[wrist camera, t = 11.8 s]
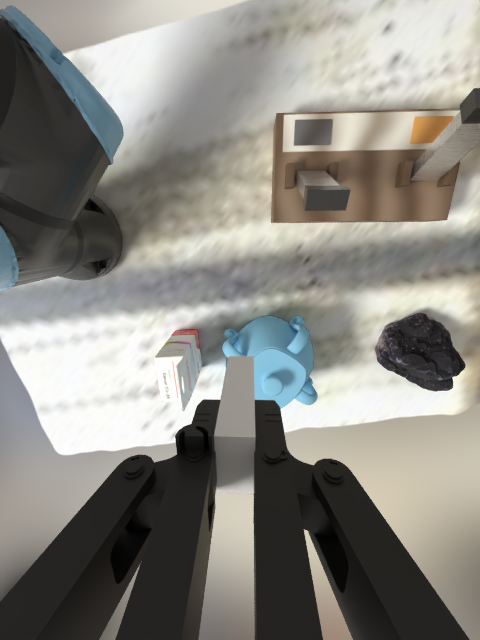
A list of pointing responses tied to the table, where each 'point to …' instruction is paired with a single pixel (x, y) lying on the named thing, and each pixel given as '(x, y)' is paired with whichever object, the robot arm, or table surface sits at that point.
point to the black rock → (420, 352)
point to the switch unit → (361, 164)
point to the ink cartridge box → (179, 366)
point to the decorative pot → (276, 358)
